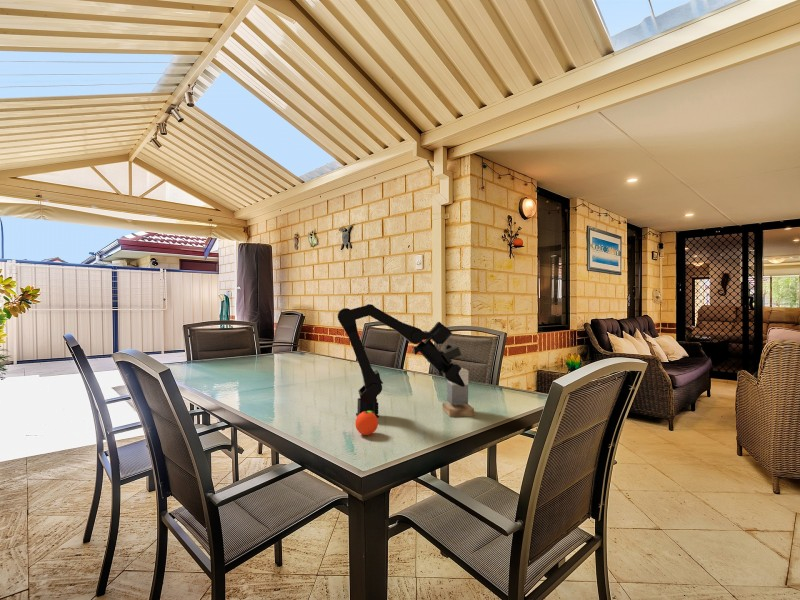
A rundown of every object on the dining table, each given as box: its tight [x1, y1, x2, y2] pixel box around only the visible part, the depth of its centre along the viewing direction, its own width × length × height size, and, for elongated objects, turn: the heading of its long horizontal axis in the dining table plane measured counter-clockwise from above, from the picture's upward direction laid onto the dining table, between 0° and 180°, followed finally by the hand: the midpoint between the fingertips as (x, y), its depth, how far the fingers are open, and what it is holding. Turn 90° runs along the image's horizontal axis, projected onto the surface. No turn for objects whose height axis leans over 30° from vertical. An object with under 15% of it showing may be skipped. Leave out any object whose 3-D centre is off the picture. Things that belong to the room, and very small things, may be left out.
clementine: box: [354, 411, 379, 436], centre depth 120 cm, size 8×7×7 cm
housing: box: [446, 367, 470, 405], centre depth 143 cm, size 6×6×12 cm
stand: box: [442, 402, 475, 418], centre depth 143 cm, size 9×9×2 cm
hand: (461, 384), depth 143 cm, fingers closed on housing, 6 cm apart
